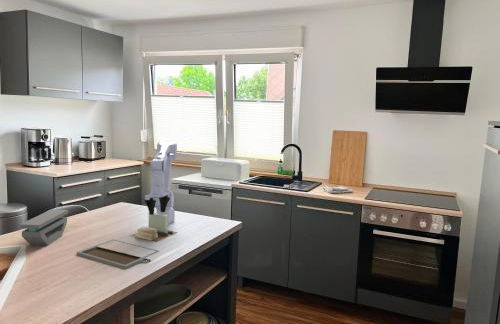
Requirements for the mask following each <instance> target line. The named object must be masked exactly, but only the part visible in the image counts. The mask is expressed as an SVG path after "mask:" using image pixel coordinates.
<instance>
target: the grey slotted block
mask: <svg viewBox="0 0 500 324" xmlns="http://www.w3.org/2000/svg"><path fill="white" fill-rule="evenodd" d="M68 214H69V210H68V209H54V208H53V209H49V210H48V211H45V212H43V213H41V214H39V215H37V216H35V217H32V218H30V219H28V220H26V221H24V222H22V223H20V224H19V229H24V230H21V237H22V238H23V239H24V240H25V241H26V242H27V243H28V244H29V245H32V246H33V245H35V246H36V245H37V246H49V245H51V244H52V243H55V242H56V241H57V240H60V238H62V237H63V234H64V232H65V228H67V227H66V226H67V223H68V217H65V215H68Z"/></svg>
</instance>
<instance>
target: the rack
mask: <svg viewBox="0 0 500 324" xmlns="http://www.w3.org/2000/svg"><path fill="white" fill-rule="evenodd" d="M157 233H158V238H155V239H153V240H147V239H143V238H138V237H135V233H133V234H130V235H129V237H131V238H134V239H135V238H137V239H141V240H145V241H150V242H155V243H158V242H160V241H162V240H164V239H166V238H167V239H168V237H170V236H174V235H176V234H178V233H179V232H177V231H173V230H169V229H168V233H165V232H160V231H157Z"/></svg>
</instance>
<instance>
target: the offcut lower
mask: <svg viewBox="0 0 500 324" xmlns="http://www.w3.org/2000/svg"><path fill="white" fill-rule="evenodd" d="M134 234H135V237H138V238H137V239H140V238H143V239H142V240H145V239H147V240H146V241H149V240H153V239H155V238H158V233H156V234H154V235H145V234H139V233H138V231H137V232H135V233H134ZM135 237H134V238H135Z"/></svg>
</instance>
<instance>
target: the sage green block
mask: <svg viewBox="0 0 500 324" xmlns="http://www.w3.org/2000/svg"><path fill="white" fill-rule="evenodd" d="M148 228H155V229H157V231H160V232H165V233H168V230H169V224H168V215H164V214H158V213H156V212H154V215H151V214H149V213H148Z"/></svg>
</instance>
